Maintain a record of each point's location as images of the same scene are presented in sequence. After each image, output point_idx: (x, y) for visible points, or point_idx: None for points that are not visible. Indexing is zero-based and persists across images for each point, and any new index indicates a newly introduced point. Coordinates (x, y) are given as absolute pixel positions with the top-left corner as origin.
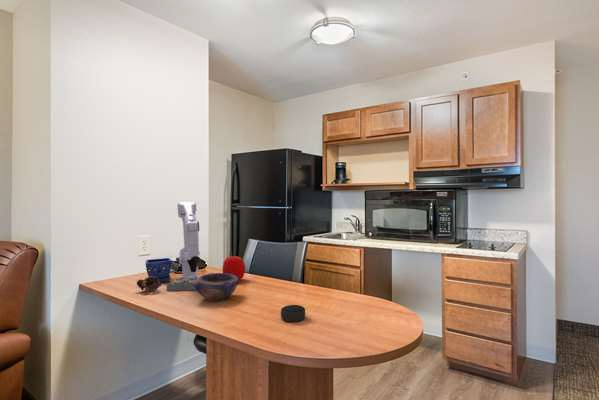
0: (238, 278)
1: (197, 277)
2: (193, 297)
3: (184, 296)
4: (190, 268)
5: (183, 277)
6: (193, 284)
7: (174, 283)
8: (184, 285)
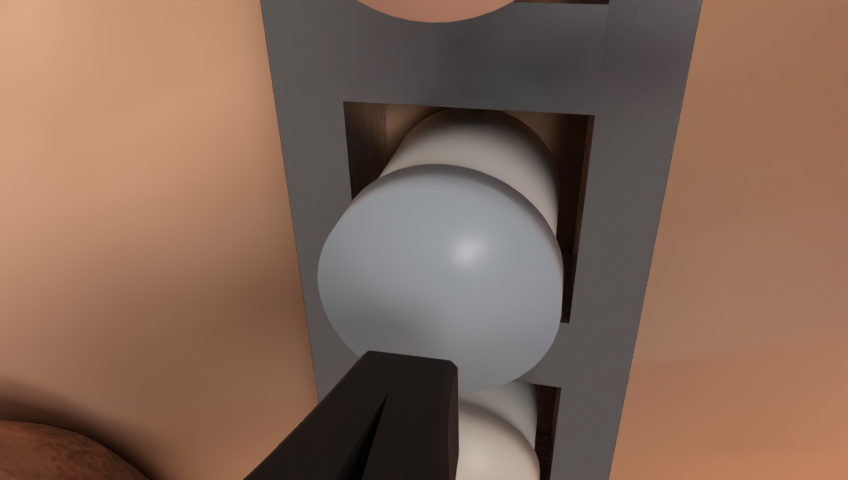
0: None
1: None
2: (21, 287)
3: (16, 163)
4: (296, 440)
5: (414, 13)
6: (301, 259)
7: None
8: (280, 69)
